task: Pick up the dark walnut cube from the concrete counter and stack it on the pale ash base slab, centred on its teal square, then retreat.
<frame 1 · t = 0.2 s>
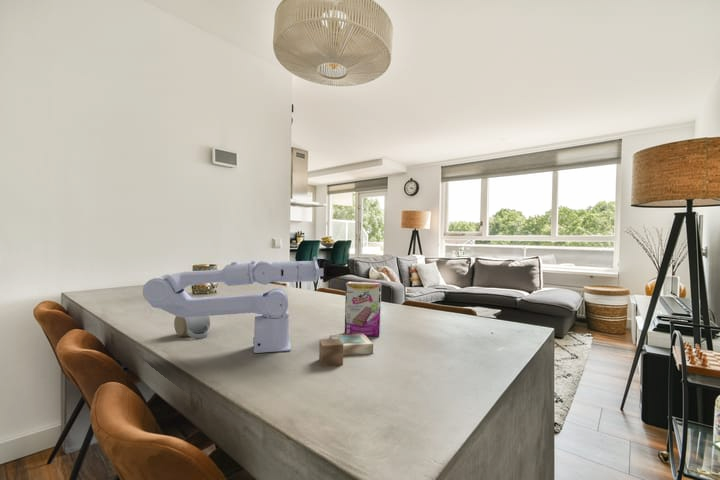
hand: (345, 270, 97), 21 cm above the table, tool horizontal, fingers open, 7 cm apart
walnut cube: (330, 362, 83), on the table
ceramic mug: (194, 335, 104), on the table
ash base: (350, 348, 93), on the table
candy bar box: (362, 335, 107), on the table
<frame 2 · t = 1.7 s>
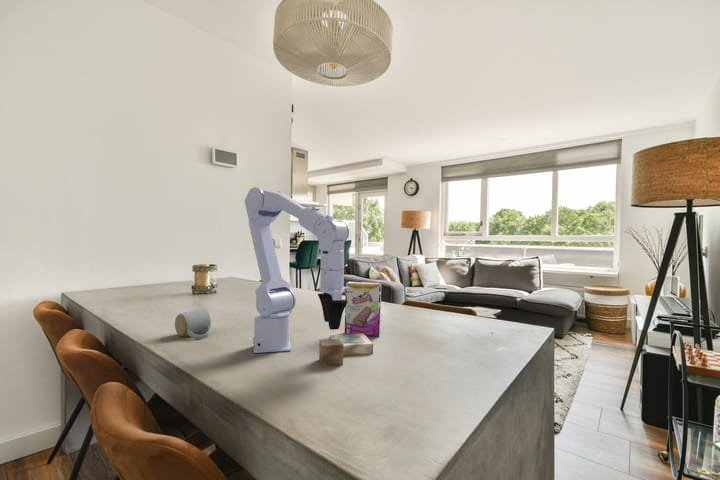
hand: (331, 325, 83), 9 cm above the table, tool pointing down, fingers open, 7 cm apart
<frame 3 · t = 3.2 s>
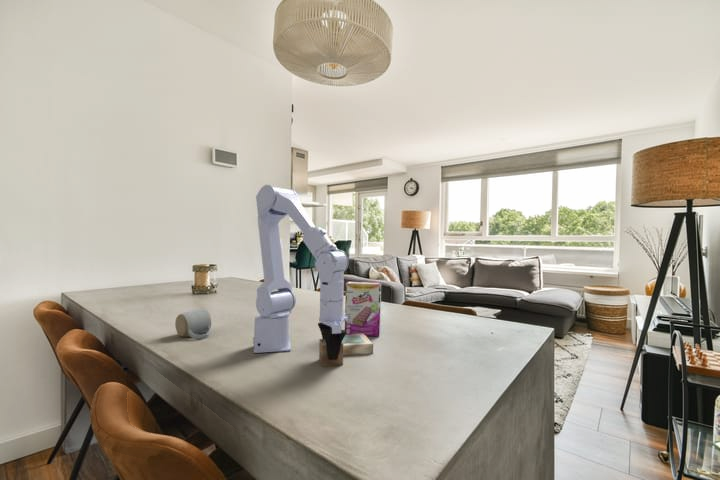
hand: (330, 355, 83), 2 cm above the table, tool pointing down, fingers closed on walnut cube, 5 cm apart
walnut cube: (330, 362, 83), on the table, touching gripper
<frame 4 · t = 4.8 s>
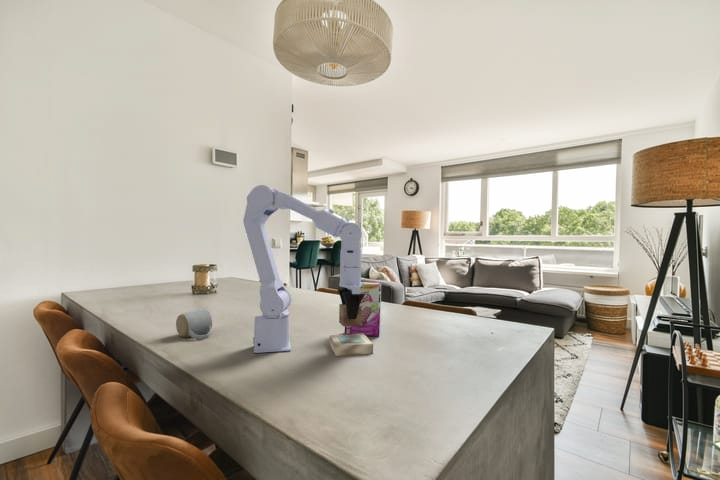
hand: (349, 316, 92), 9 cm above the table, tool pointing down, fingers closed on walnut cube, 5 cm apart
walnut cube: (350, 323, 92), point 7 cm above the table, touching gripper
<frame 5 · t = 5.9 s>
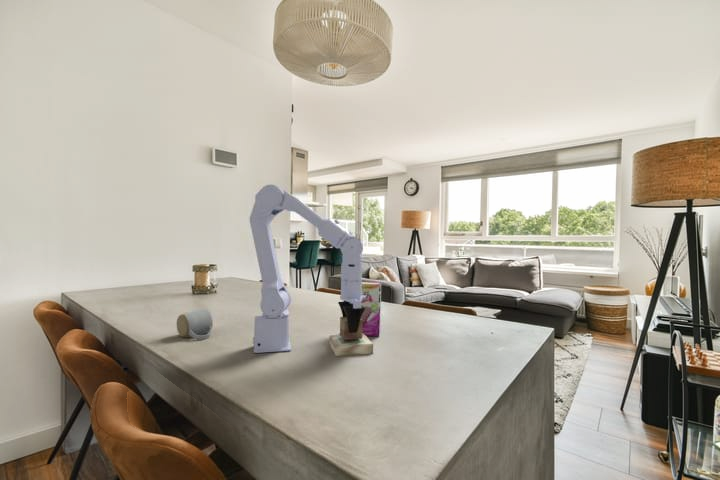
hand: (350, 329, 93), 5 cm above the table, tool pointing down, fingers closed on walnut cube, 5 cm apart
walnut cube: (350, 336, 93), point 3 cm above the table, touching gripper
when the fingers open (5 cm above the table, at t = 6.5 s): walnut cube stays where it is, resting on ash base.
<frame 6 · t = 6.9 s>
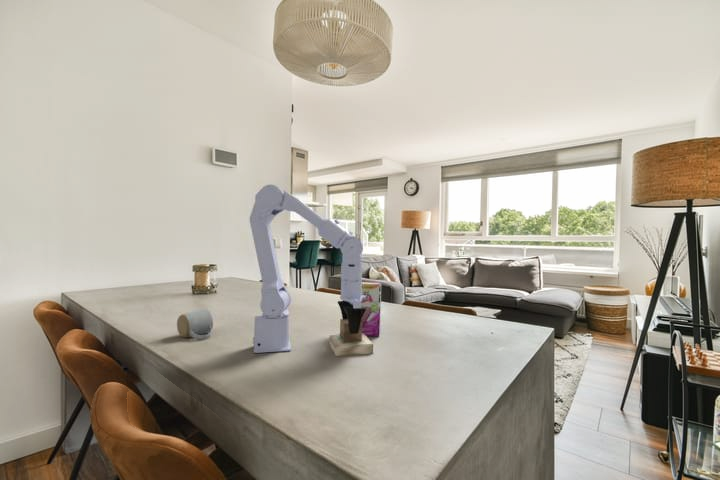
hand: (350, 329, 93), 5 cm above the table, tool pointing down, fingers open, 7 cm apart
walnut cube: (350, 339, 93), point 3 cm above the table, touching ash base
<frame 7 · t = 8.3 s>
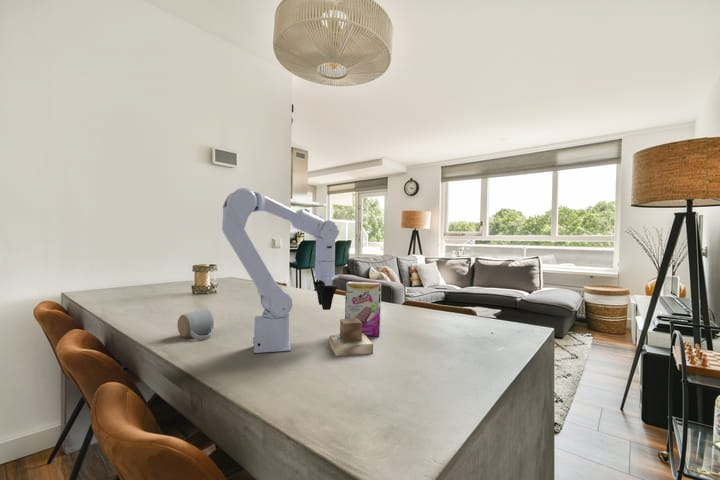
hand: (324, 307, 100), 10 cm above the table, tool pointing down, fingers open, 7 cm apart
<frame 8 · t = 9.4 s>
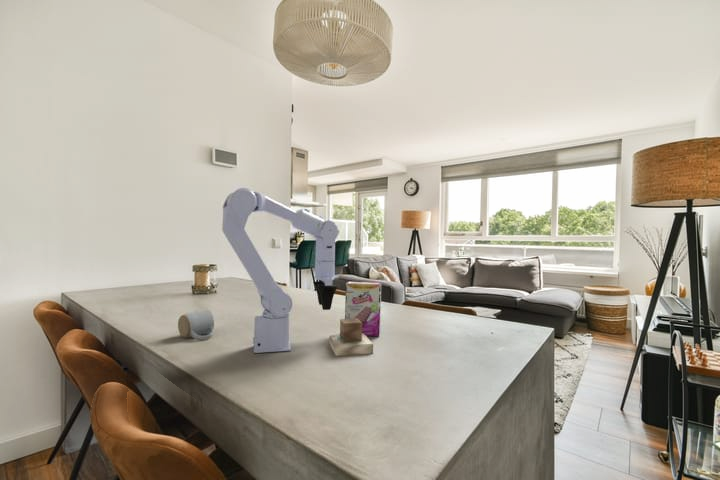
hand: (324, 307, 100), 10 cm above the table, tool pointing down, fingers open, 7 cm apart
at the end: walnut cube inside the target area on the ash base (0.0 cm from its centre), point 2.6 cm above the ash base's base; walnut cube tilted 0°; the gripper is holding nothing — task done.
